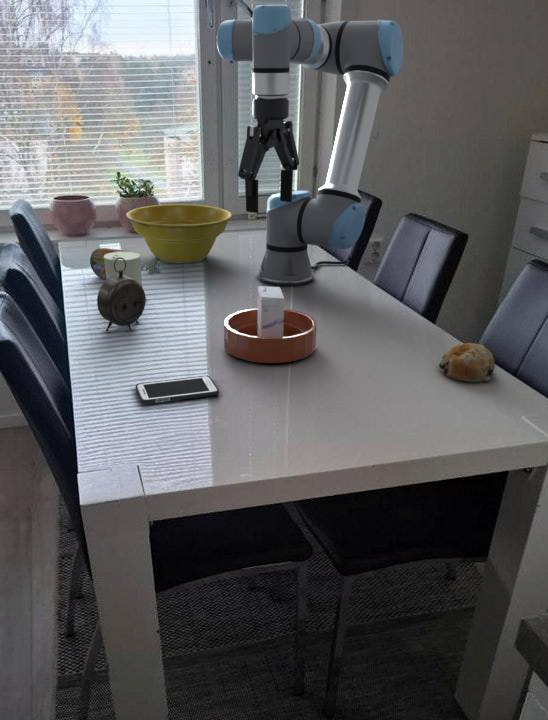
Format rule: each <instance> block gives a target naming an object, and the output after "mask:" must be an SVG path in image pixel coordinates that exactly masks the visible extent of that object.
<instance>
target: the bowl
mask: <svg viewBox="0 0 548 720" xmlns="http://www.w3.org/2000/svg"><path fill="white" fill-rule="evenodd" d="M257 320H258V307H256V308H249V309H248V308H247V309H244V310H238V311H236V312H234V313H232V314H229V315H228V316H227V317H225V318H224V322H223V347H224V349H225V350H226V352H227V354H229V355H231V356H233V357H235V358H237V359H241V360H244V361H248V362H254V363H261V364H282V363H290V362H296V361H298V360H302V359H305V358H307V357H309V356H310V355H312V354H313V353H314V351H315V350H316V348H317V347H316V345H317V333H318V331H317V330H318V324H317V320H316V319H314V318H313V317H312V316H311V315H309V314H307V313H304V312H301V311H298V310H293V309H289V308H284V324H283V337H257Z"/></svg>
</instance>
